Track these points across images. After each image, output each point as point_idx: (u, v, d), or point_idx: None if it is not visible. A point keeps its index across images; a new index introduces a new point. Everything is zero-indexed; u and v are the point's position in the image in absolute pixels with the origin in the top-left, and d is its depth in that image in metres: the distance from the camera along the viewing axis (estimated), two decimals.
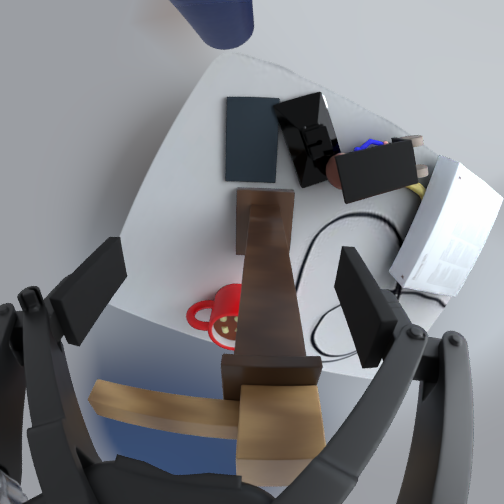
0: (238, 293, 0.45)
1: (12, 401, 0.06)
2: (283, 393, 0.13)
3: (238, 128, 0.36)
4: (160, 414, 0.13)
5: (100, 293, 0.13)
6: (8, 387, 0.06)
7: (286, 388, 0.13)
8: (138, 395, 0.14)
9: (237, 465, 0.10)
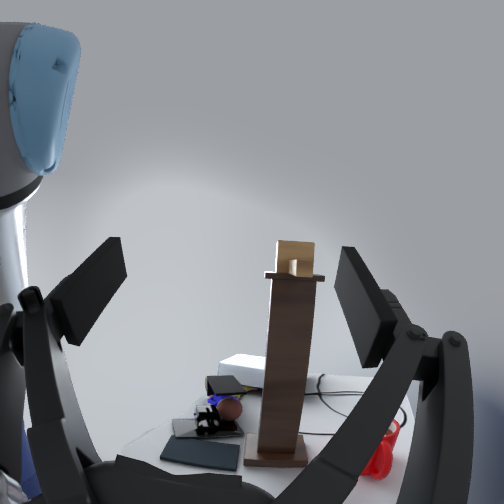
0: None
1: (12, 402, 0.06)
2: None
3: (189, 456, 0.35)
4: (292, 261, 0.34)
5: (100, 293, 0.13)
6: (8, 387, 0.06)
7: (275, 270, 0.41)
8: (292, 270, 0.32)
9: None
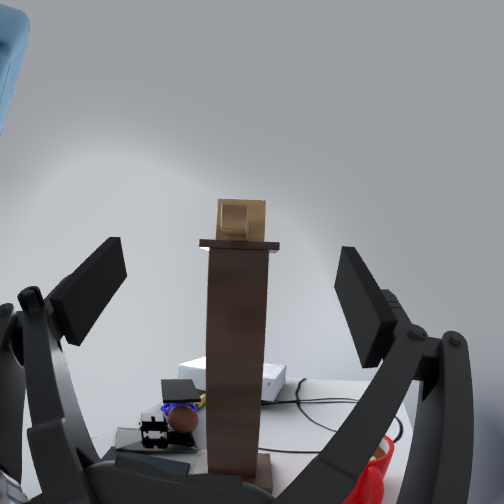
0: None
1: (12, 401, 0.06)
2: None
3: None
4: None
5: (100, 293, 0.13)
6: (8, 387, 0.06)
7: None
8: None
9: (227, 199, 0.29)
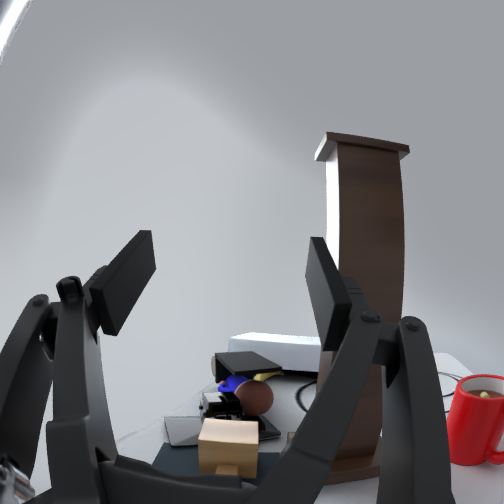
0: (449, 433, 0.19)
1: (35, 396, 0.07)
2: None
3: None
4: None
5: (134, 284, 0.14)
6: (32, 381, 0.07)
7: None
8: None
9: (209, 440, 0.19)
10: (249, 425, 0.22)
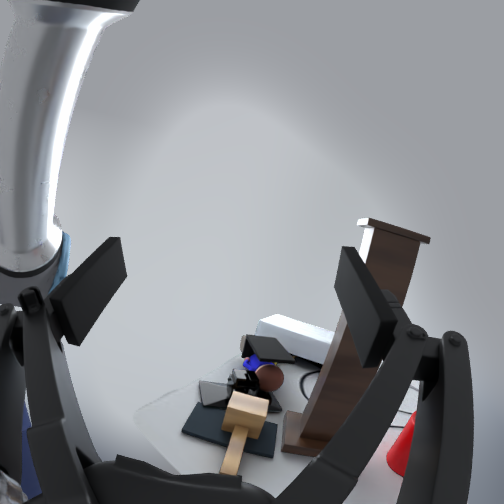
0: (395, 446, 0.28)
1: (12, 401, 0.06)
2: None
3: (218, 432, 0.31)
4: (228, 446, 0.27)
5: (100, 293, 0.13)
6: (8, 387, 0.06)
7: None
8: None
9: (235, 408, 0.31)
10: (262, 402, 0.34)
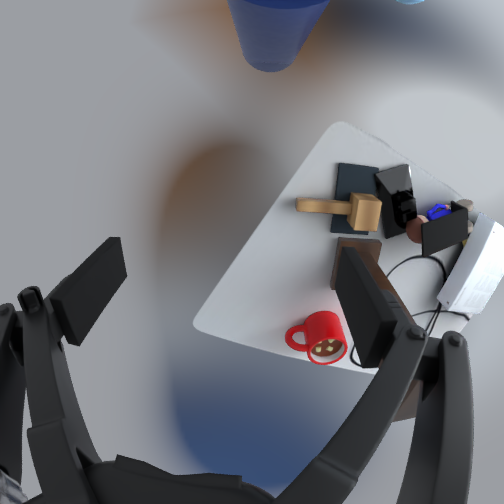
0: (329, 319, 0.53)
1: (12, 402, 0.06)
2: (363, 194, 0.43)
3: (346, 191, 0.44)
4: (326, 202, 0.43)
5: (100, 293, 0.13)
6: (8, 387, 0.06)
7: None
8: (315, 199, 0.44)
9: (358, 205, 0.41)
10: (372, 226, 0.42)
